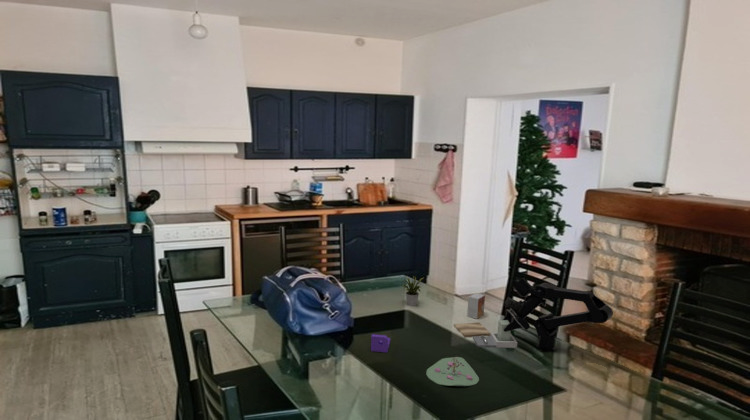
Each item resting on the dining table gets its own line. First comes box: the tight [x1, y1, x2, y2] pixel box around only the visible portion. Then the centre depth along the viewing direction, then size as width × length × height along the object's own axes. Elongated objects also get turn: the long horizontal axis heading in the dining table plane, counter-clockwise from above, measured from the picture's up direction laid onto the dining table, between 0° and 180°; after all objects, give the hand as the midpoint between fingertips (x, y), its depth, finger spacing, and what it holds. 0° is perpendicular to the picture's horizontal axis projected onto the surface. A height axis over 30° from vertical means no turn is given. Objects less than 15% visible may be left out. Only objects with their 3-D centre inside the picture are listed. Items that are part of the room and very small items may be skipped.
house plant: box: [401, 275, 424, 307], centre depth 261 cm, size 14×14×16 cm
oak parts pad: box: [453, 322, 491, 338], centre depth 231 cm, size 13×13×1 cm
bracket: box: [370, 333, 391, 353], centre depth 212 cm, size 12×7×7 cm, turn 172°
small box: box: [466, 292, 486, 320], centre depth 249 cm, size 8×6×10 cm
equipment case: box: [472, 332, 518, 349], centre depth 218 cm, size 17×10×2 cm, turn 93°
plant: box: [425, 355, 480, 387], centre depth 191 cm, size 25×21×9 cm
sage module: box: [497, 319, 512, 341], centre depth 218 cm, size 4×5×10 cm
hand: (502, 328), depth 218 cm, fingers closed on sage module, 5 cm apart
